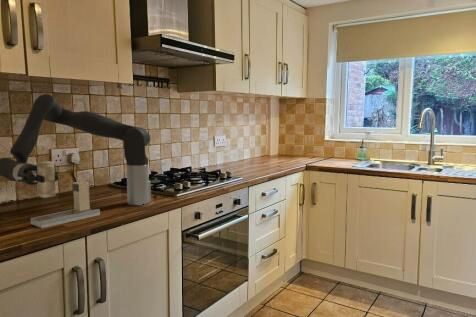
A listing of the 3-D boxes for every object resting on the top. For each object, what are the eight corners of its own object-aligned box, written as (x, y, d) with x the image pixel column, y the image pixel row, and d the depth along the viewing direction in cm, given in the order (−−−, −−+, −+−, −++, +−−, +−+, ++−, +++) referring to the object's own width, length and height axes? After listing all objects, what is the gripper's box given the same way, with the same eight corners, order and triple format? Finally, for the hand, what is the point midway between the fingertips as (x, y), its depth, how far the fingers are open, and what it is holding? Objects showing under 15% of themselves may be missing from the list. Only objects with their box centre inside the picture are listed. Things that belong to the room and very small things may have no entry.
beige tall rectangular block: (51, 194, 134) (50, 161, 133) (57, 195, 132) (55, 162, 130) (38, 196, 131) (37, 162, 129) (44, 197, 128) (42, 163, 127)
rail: (88, 211, 148) (87, 179, 147) (100, 214, 143) (98, 181, 142) (30, 224, 131) (28, 187, 129) (41, 228, 126) (39, 190, 125)
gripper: (6, 165, 133) (28, 170, 123) (46, 162, 144) (69, 165, 134) (7, 186, 134) (29, 192, 123) (47, 181, 145) (70, 186, 135)
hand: (50, 178), depth 129 cm, fingers closed on beige tall rectangular block, 4 cm apart
